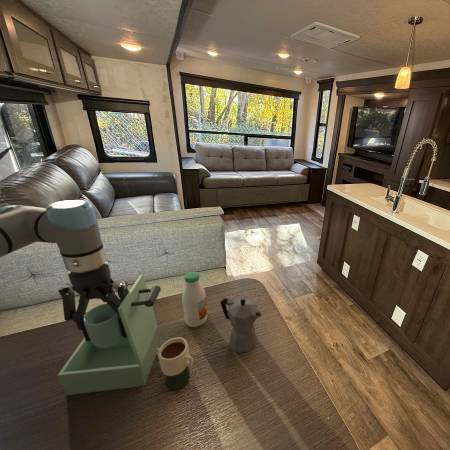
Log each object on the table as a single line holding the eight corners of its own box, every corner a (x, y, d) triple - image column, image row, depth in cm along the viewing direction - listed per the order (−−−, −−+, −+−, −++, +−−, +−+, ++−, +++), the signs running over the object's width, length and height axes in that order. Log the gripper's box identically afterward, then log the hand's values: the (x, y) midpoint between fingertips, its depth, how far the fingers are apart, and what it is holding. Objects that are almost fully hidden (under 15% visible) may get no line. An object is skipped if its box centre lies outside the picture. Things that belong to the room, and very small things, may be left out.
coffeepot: (266, 338, 86) (268, 298, 79) (251, 360, 78) (252, 317, 71) (230, 322, 91) (229, 283, 84) (213, 341, 83) (210, 299, 76)
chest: (66, 395, 64) (57, 375, 61) (94, 350, 76) (88, 332, 73) (144, 385, 68) (140, 366, 65) (160, 344, 80) (156, 326, 77)
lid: (117, 309, 57) (145, 306, 58) (140, 274, 69) (163, 272, 70) (138, 365, 65) (162, 361, 66) (155, 325, 77) (175, 323, 78)
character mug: (202, 374, 73) (199, 342, 68) (187, 398, 66) (182, 365, 61) (170, 364, 75) (164, 332, 69) (152, 387, 68) (144, 354, 63)
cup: (120, 325, 73) (112, 298, 69) (132, 339, 69) (125, 311, 65) (87, 342, 67) (77, 314, 63) (99, 358, 63) (89, 329, 59)
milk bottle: (192, 331, 86) (187, 285, 78) (180, 320, 90) (174, 275, 82) (211, 319, 92) (208, 274, 84) (199, 309, 96) (195, 266, 88)
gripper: (21, 276, 53) (54, 351, 62) (130, 272, 57) (146, 343, 66) (46, 258, 59) (73, 328, 68) (142, 255, 64) (155, 321, 73)
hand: (109, 335), depth 67 cm, fingers closed on cup, 8 cm apart
